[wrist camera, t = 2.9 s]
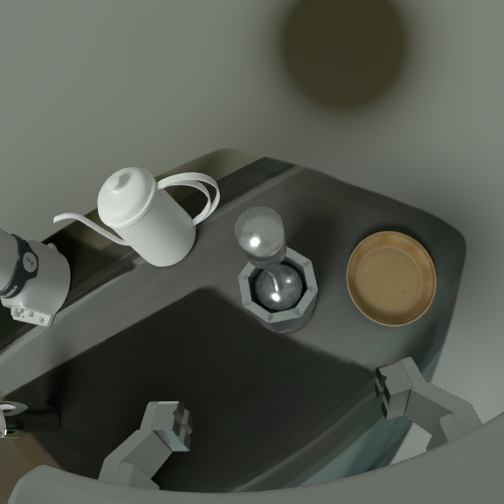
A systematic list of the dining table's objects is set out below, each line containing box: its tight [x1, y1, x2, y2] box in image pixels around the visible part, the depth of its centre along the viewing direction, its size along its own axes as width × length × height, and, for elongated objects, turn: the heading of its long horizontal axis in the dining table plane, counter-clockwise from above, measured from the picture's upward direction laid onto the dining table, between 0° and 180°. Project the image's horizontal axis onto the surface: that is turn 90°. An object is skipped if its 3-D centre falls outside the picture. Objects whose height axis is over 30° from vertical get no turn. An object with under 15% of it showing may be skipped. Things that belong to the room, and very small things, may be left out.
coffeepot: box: [53, 167, 220, 267], centre depth 43 cm, size 11×25×19 cm, turn 104°
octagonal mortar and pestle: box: [238, 246, 318, 334], centre depth 39 cm, size 9×11×12 cm
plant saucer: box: [346, 231, 436, 326], centre depth 41 cm, size 15×15×3 cm
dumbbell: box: [235, 206, 302, 311], centre depth 27 cm, size 5×5×17 cm
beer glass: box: [0, 402, 60, 438], centre depth 35 cm, size 7×7×15 cm
